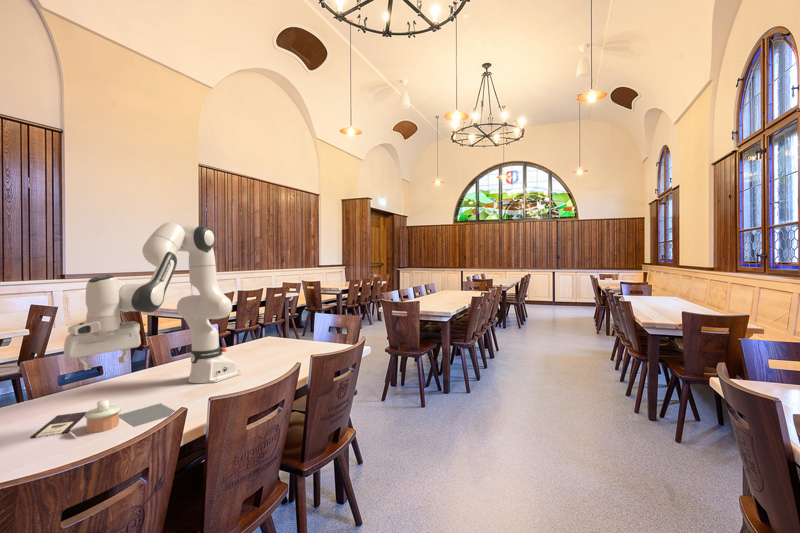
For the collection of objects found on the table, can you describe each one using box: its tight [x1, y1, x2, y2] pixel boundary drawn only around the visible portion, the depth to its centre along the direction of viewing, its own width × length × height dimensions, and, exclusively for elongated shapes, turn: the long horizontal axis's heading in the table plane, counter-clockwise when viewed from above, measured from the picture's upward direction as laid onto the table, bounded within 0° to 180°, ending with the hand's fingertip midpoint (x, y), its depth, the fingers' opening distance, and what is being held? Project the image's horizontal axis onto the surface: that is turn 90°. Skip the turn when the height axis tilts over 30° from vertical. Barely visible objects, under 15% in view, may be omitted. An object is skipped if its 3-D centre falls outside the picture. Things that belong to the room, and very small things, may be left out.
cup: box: [86, 412, 120, 434], centre depth 123 cm, size 8×8×5 cm
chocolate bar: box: [30, 411, 87, 439], centre depth 127 cm, size 9×1×18 cm
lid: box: [84, 399, 122, 420], centre depth 123 cm, size 9×9×4 cm
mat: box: [119, 403, 176, 428], centre depth 134 cm, size 14×16×1 cm
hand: (105, 365), depth 126 cm, fingers open, 8 cm apart
